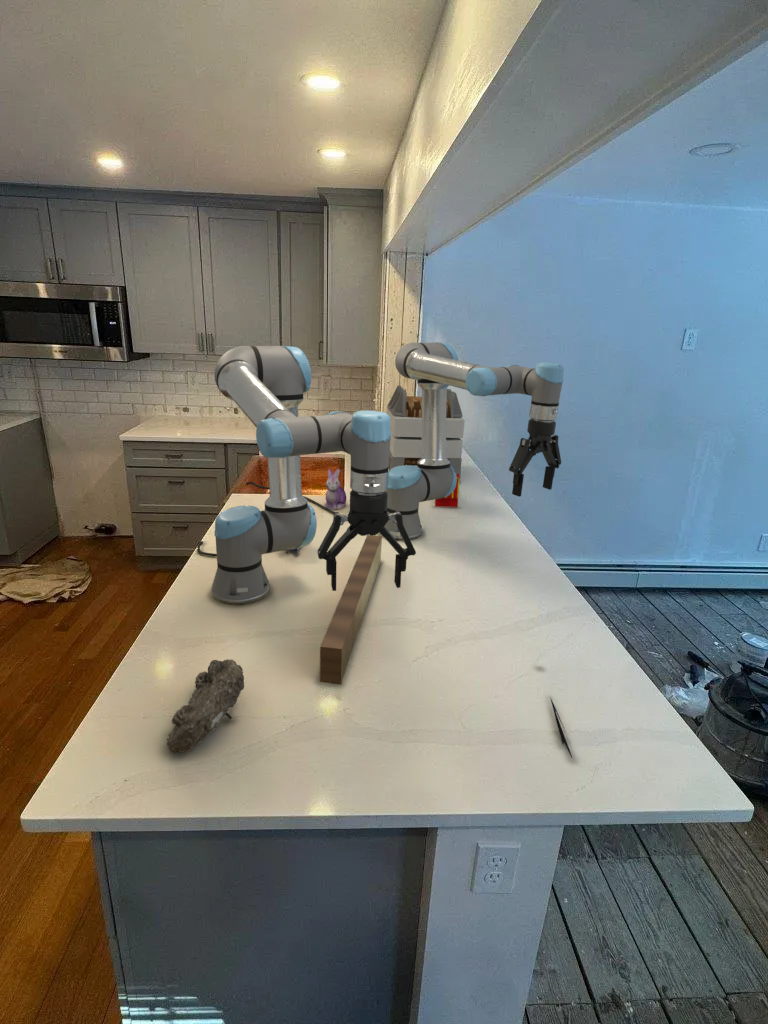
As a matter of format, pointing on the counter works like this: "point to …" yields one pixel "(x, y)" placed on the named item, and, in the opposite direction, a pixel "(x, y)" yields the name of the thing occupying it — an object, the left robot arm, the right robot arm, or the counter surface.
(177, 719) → the fossil
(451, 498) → the toy
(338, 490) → the figurine
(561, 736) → the feather
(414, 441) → the transformer
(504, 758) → the counter surface
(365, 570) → the post
